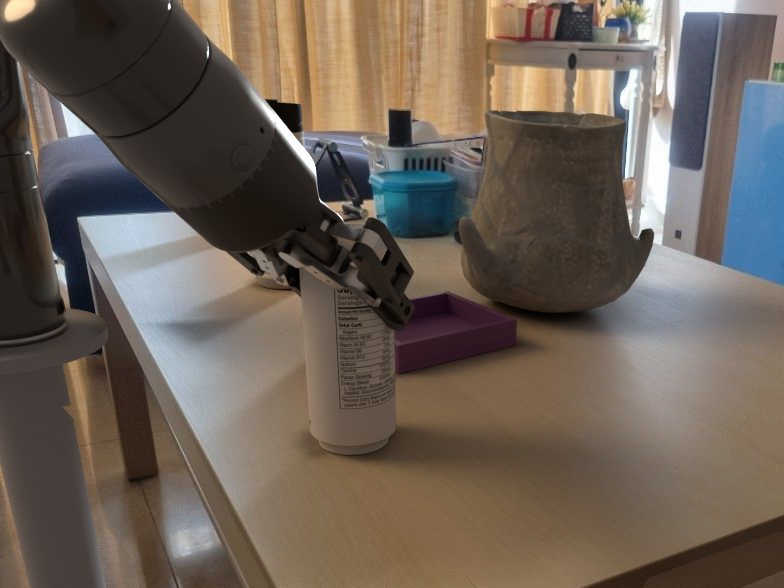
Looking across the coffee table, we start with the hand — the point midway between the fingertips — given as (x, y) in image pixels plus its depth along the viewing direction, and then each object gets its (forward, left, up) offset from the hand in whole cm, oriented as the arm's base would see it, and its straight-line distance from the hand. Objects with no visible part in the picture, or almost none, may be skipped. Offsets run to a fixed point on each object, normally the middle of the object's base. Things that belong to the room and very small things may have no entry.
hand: (364, 309), depth 58 cm
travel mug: (+12, +39, -9) cm, 42 cm away
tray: (+14, +14, -9) cm, 22 cm away
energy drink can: (-2, -1, -9) cm, 10 cm away
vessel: (+33, +18, -9) cm, 39 cm away
